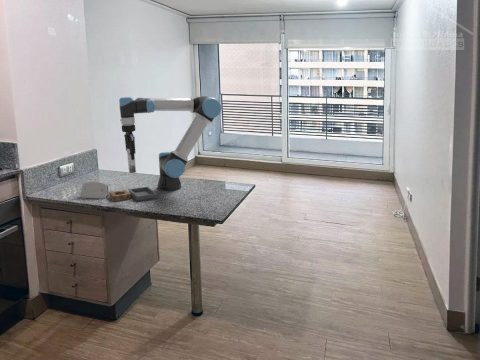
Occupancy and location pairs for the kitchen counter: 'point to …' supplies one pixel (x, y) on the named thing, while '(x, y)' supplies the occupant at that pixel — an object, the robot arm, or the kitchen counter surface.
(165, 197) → the kitchen counter surface
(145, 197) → the tray
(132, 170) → the pin
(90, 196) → the grey upright slab
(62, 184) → the kitchen counter surface
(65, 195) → the kitchen counter surface
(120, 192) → the holder
